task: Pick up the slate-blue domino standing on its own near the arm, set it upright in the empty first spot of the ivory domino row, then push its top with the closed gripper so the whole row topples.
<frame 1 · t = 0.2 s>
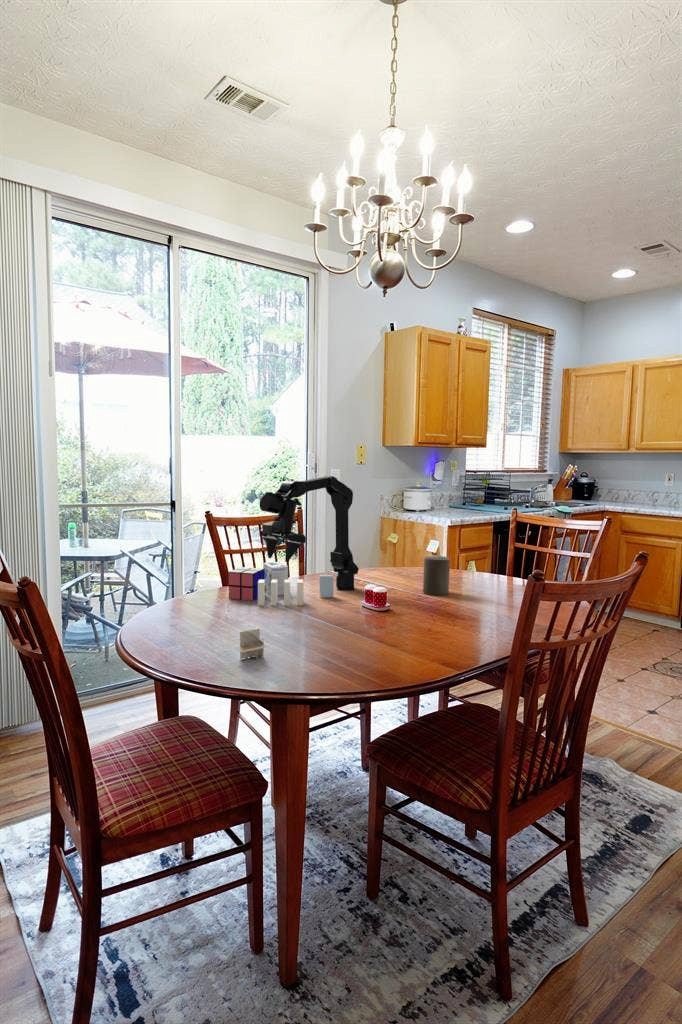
hand: (277, 560, 204), 15 cm above the table, tool pointing down, fingers open, 9 cm apart
light bulb box: (275, 592, 221), on the table
domino 5: (261, 603, 204), on the table
dark grey cylinder: (436, 593, 223), on the table
domino 3: (287, 603, 204), on the table
domino 4: (274, 603, 204), on the table
puzzle cube: (247, 597, 213), on the table
domino 2: (300, 603, 205), on the table
architectural model: (252, 660, 148), on the table
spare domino: (326, 597, 214), on the table
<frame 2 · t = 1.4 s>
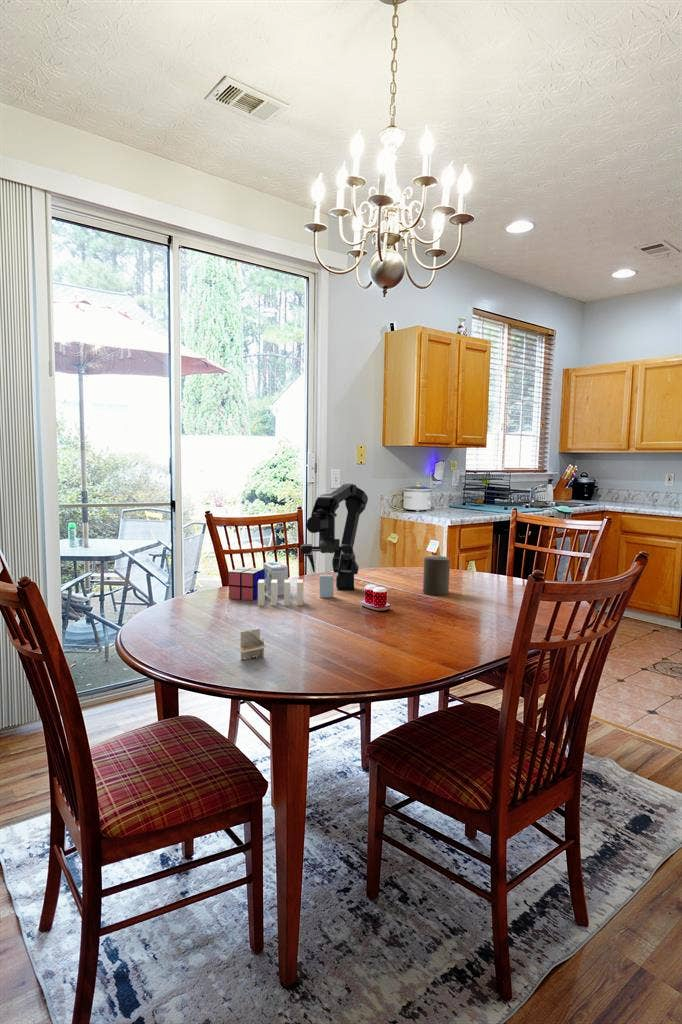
hand: (326, 572, 213), 9 cm above the table, tool pointing down, fingers open, 9 cm apart
nothing on the table moved.
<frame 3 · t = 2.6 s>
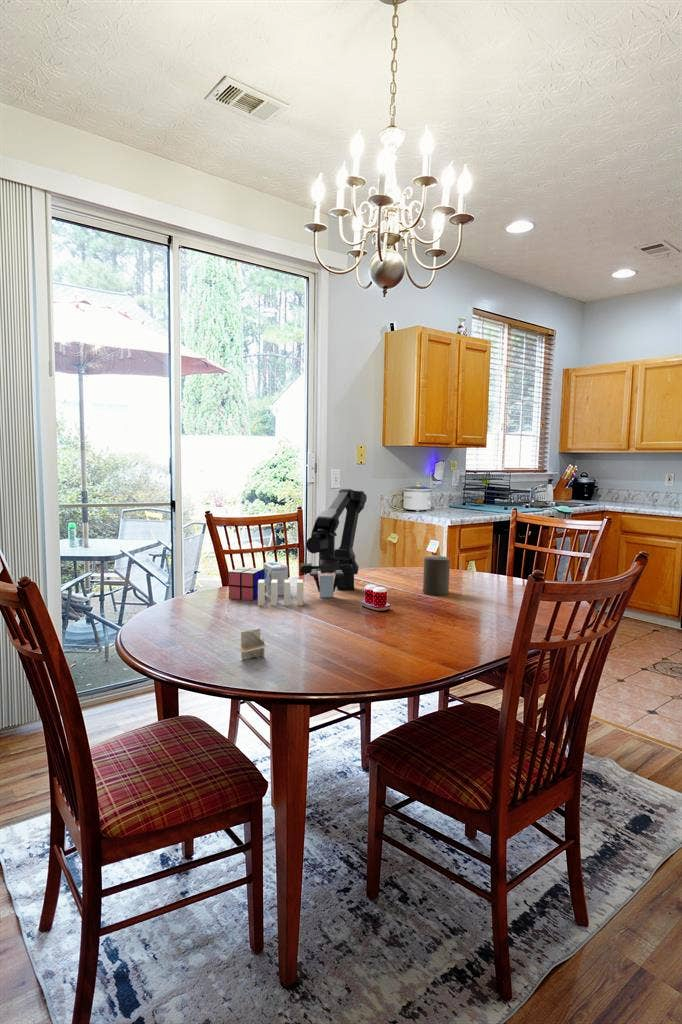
hand: (326, 591, 214), 2 cm above the table, tool pointing down, fingers closed on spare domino, 5 cm apart
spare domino: (326, 597, 214), on the table, touching gripper
everything else where it was.
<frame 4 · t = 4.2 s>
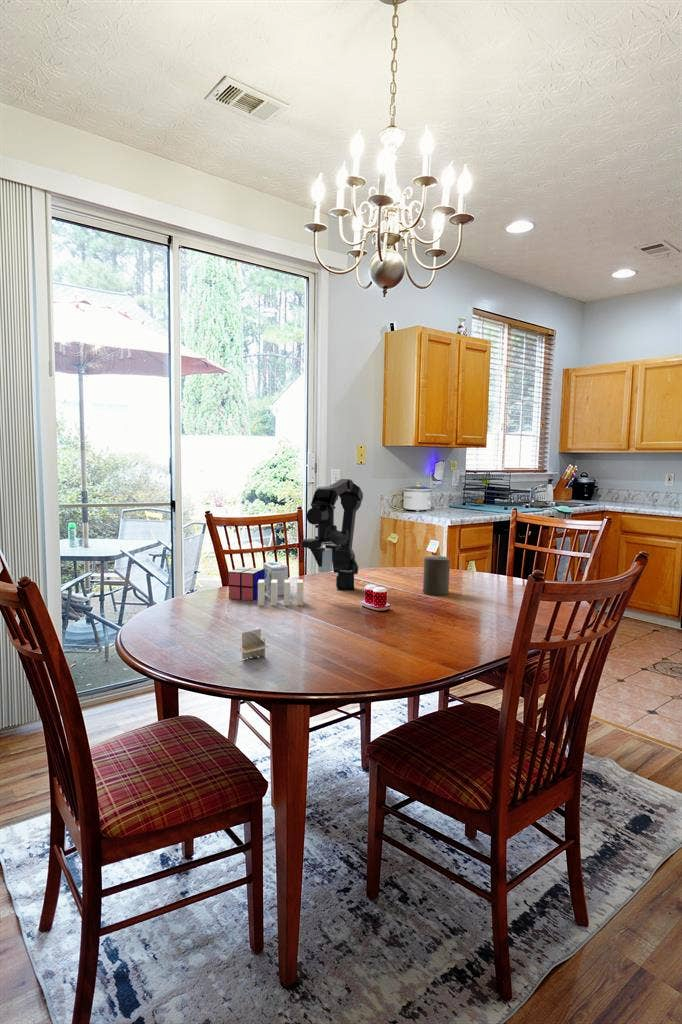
hand: (325, 565, 209), 12 cm above the table, tool pointing down, fingers closed on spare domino, 5 cm apart
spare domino: (325, 571, 209), point 10 cm above the table, touching gripper
everything else where it was.
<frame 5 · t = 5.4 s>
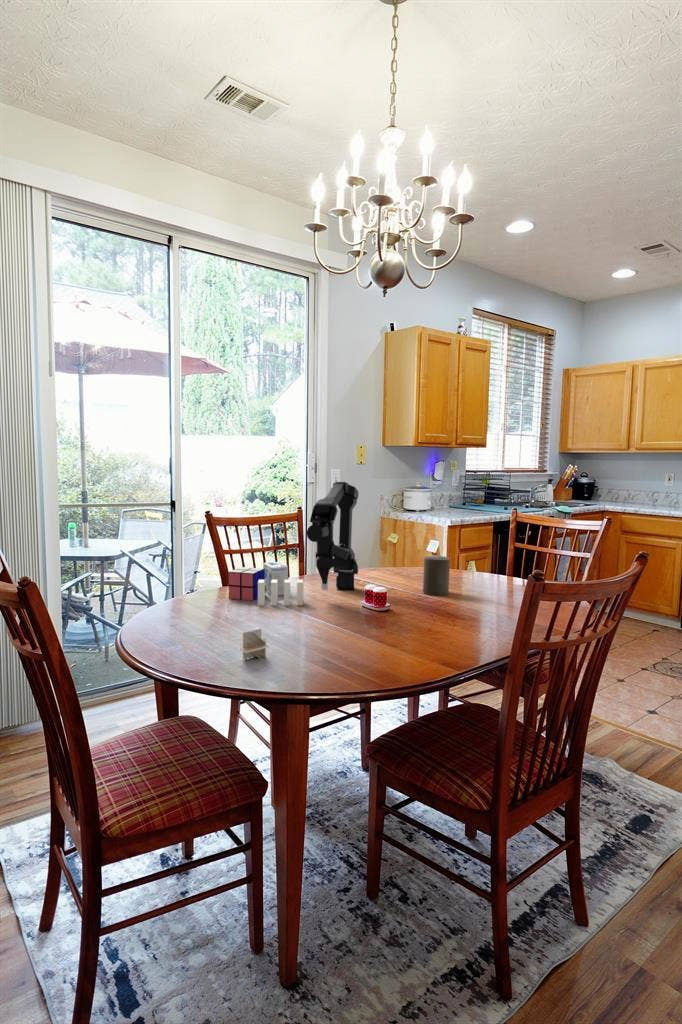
hand: (324, 582, 205), 7 cm above the table, tool pointing down, fingers closed on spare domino, 5 cm apart
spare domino: (324, 587, 205), point 5 cm above the table, touching gripper
everything else where it was.
when the fingers open (3 cm above the table, at t = 6.6 s): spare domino drops 1 cm, on the table.
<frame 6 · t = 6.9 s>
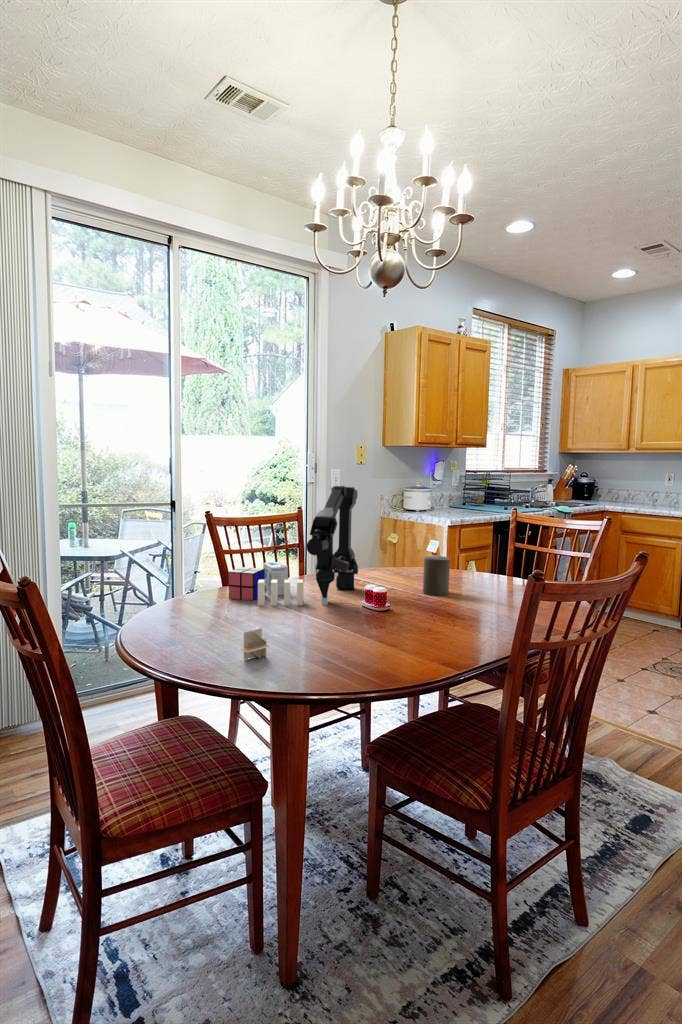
hand: (324, 594, 205), 3 cm above the table, tool pointing down, fingers open, 8 cm apart
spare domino: (324, 603, 205), on the table
everything else where it was.
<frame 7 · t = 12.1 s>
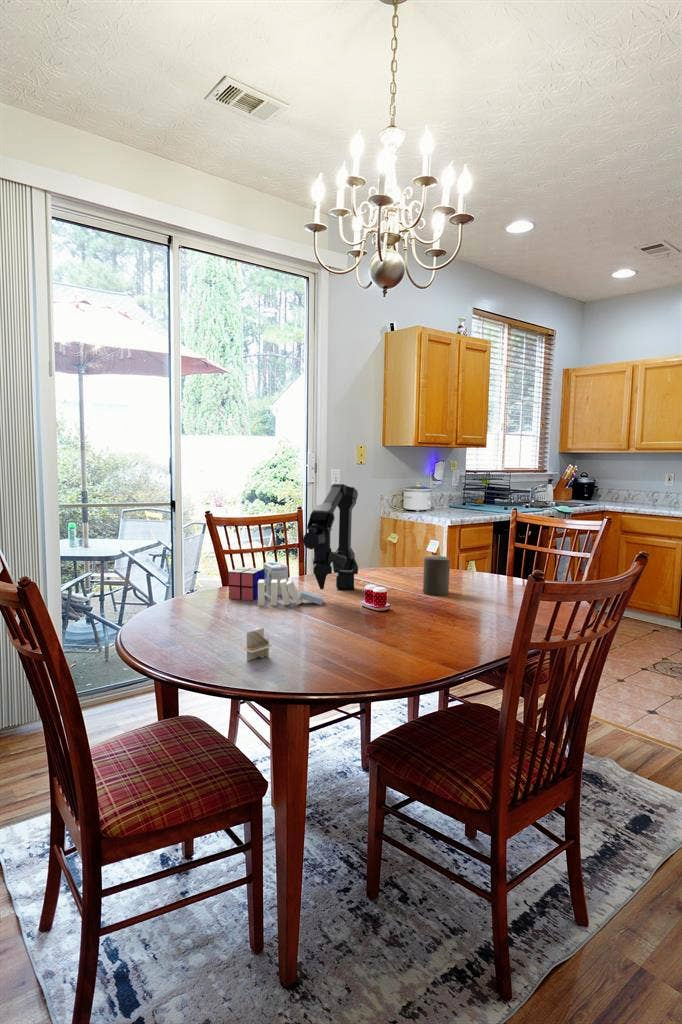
hand: (321, 589, 205), 5 cm above the table, tool pointing down, fingers closed
domino 3: (287, 603, 204), on the table, tilted 10°
domino 2: (299, 602, 205), on the table, tilted 27°
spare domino: (322, 600, 205), point 1 cm above the table, tilted 72°
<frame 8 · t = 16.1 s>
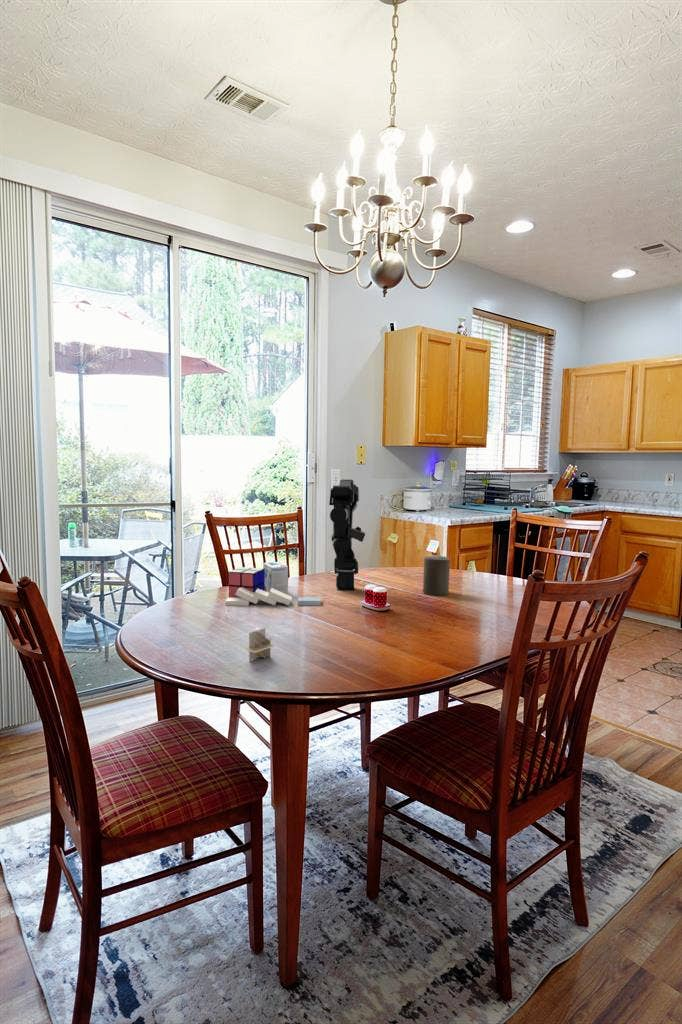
hand: (340, 564, 209), 13 cm above the table, tool pointing down, fingers closed
domino 5: (249, 602, 204), on the table, tilted 90°, touching domino 4
domino 3: (276, 601, 204), point 1 cm above the table, tilted 68°, touching domino 2, domino 4
domino 4: (259, 600, 204), point 1 cm above the table, tilted 68°, touching domino 3, domino 5
domino 2: (290, 601, 204), point 1 cm above the table, tilted 67°, touching domino 3
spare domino: (320, 601, 205), point 1 cm above the table, tilted 90°
at the end: domino 5 tilted 90°; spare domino inside the target area (0.3 cm from its centre), point 0.5 cm above the table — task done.
